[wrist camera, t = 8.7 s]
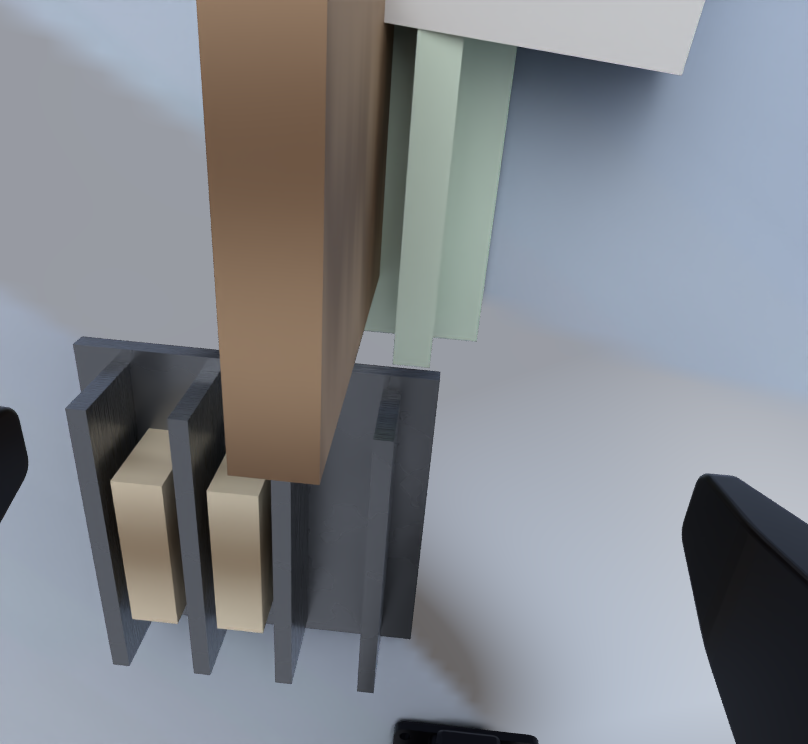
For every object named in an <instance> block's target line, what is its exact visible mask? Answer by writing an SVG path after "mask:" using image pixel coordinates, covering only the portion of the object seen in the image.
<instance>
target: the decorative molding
mask: <svg viewBox="0 0 808 744" xmlns="http://www.w3.org/2000/svg"><path fill="white" fill-rule="evenodd" d="M704 3H705V0H385V16H384V22H385V23H390V24H396V25H401V26H407V27H413V28H418V29H424V30H429V31H435V32H441V33H446V34H452V35H457V36H463V37H469V38H474V39H480V40H485V41H491V42H497V43H502V44H508V45H513V46H519V47H525V48H530V49H536V50H541V51H547V52H553V53H558V54H564V55H569V56H575V57H581V58H586V59H592V60H597V61H603V62H609V63H614V64H620V65H625V66H631V67H637V68H642V69H648V70H653V71H659V72H665V73H670V74H676V75H681V76H682V73H683V70H684V66H685V63H686V60H687V57H688V54H689V50H690V47H691V44H692V41H693V38H694V35H695V31H696V28H697V25H698V22H699V19H700V16H701V12H702V9H703V6H704Z"/></svg>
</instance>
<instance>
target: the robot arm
mask: <svg viewBox="0 0 808 744" xmlns="http://www.w3.org/2000/svg"><path fill="white" fill-rule="evenodd" d="M27 470H28V456H27V451H26V447H25V442H24V438H23V434H22V429H21V425H20V420H19V417H18V415H17V413H16V412H15V411H14V410H13V409H11V408H9V407H1V406H0V522H1V520H2V519H3V517H4V515H5V513H6V511H7V510H8V508H9V506H10V504H11V502H12V501H13V499H14V497H15V495H16V493H17V491H18V490H19V488H20V486H21V484H22V482H23V481H24V479H25V476H26V473H27ZM682 542H683V547H684V552H685V557H686V562H687V567H688V571H689V576H690V581H691V586H692V590H693V596H694V601H695V605H696V610H697V615H698V620H699V625H700V630H701V634H702V638H703V642H704V647H705V650H706V653H707V656H708V660H709V663H710V667H711V669H712V673H713V676H714V679H715V682H716V685H717V688H718V691H719V694H720V697H721V700H722V703H723V706H724V709H725V712H726V715H727V718H728V721H729V724H730V727H731V730H732V733H733V736H734V739H735V742H736V744H808V524H807V523H805V522H804V521H802V520H801V519H799V518H798V517H796V516H795V515H793V514H792V513H790V512H789V511H787V510H786V509H784V508H783V507H781V506H779V505H778V504H777V503H775V502H774V501H772V500H771V499H769V498H767V497H766V496H765V495H763V494H762V493H760V492H758V491H757V490H755V489H754V488H752V487H751V486H749V485H748V484H746V483H745V482H743V481H742V480H740V479H739V478H737V477H734V476H730V475H718V474H704V475H702V476H700V477H699V479H698V480H697V482H696V485H695V488H694V491H693V494H692V497H691V500H690V503H689V506H688V509H687V512H686V516H685V519H684V522H683V527H682ZM393 744H538V740H537V738H536V737H534V736H531V735H526V734H516V733H508V732H499V731H490V730H481V729H472V728H463V727H454V726H445V725H436V724H427V723H418V722H409V721H401V722H398V723H397V724H396V725H395V728H394V738H393Z"/></svg>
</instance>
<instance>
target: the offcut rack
mask: <svg viewBox="0 0 808 744" xmlns="http://www.w3.org/2000/svg"><path fill="white" fill-rule="evenodd" d="M73 347H74V353H75V359H76V364H77V370H78V376H79V382H80V388H81V393H80V394H79V395H78V396H77V397H76V398H75V399H74V400H73V401H72V402H71V403H70V404H69V405H68V406H67V407H66V408H65V410H66V415H67V421H68V426H69V431H70V437H71V442H72V447H73V452H74V458H75V463H76V468H77V474H78V479H79V484H80V490H81V495H82V500H83V506H84V511H85V516H86V522H87V527H88V532H89V538H90V543H91V548H92V554H93V559H94V564H95V570H96V575H97V580H98V586H99V591H100V596H101V601H102V607H103V612H104V617H105V623H106V628H107V633H108V639H109V644H110V649H111V655H112V660H113V664H115V665H124V666H130V664H131V662H132V660H133V658H134V656H135V654H136V652H137V650H138V648H139V646H140V644H141V642H142V640H143V638H144V636H145V634H146V632H147V630H148V628H149V626H150V624H151V622H152V621H146V620H137V619H132V613H131V607H130V601H129V595H128V589H127V582H126V576H125V570H124V564H123V557H122V551H121V545H120V539H119V533H118V526H117V520H116V514H115V508H114V502H113V495H112V489H111V483H110V481H111V479H112V478H113V477H114V475H115V474H116V473H117V471H118V470H119V468H120V467H121V466H122V464H123V463H124V462H125V460H126V459H127V457H128V456H129V455H130V453H131V452H132V451H133V449H134V448H135V447H136V445H137V444H138V442H139V441H140V440H141V438H142V437H143V436H144V434H145V433H146V432H147V430H148V429H149V428H151V429H161V430H168V433H169V442H170V451H171V461H172V470H173V480H174V489H175V498H176V508H177V517H178V527H179V536H180V546H181V555H182V564H183V574H184V583H185V593H186V602H187V604H186V607H185V609H184V611H183V613H182V614H184V615H188V621H189V630H190V640H191V649H192V658H193V668H194V673H196V674H205V675H210V674H211V672H212V669H213V666H214V664H215V661H216V658H217V656H218V653H219V650H220V647H221V645H222V642H223V639H224V637H225V634H226V631H227V629H219V628H217V618H216V605H215V592H214V579H213V567H212V554H211V541H210V529H209V516H208V503H207V489H208V487H209V485H210V484H211V482H212V480H213V478H214V476H215V474H216V472H217V470H218V468H219V466H220V464H221V462H222V460H223V458H224V456H225V455H226V444H225V429H224V414H223V399H222V383H221V368H220V353H219V350H214V349H204V348H193V347H183V346H173V345H162V344H152V343H142V342H132V341H122V340H111V339H102V338H92V337H81V338H80V339H79V340H77V341H76V342H75V343H74V344H73ZM439 382H440V372H437V371H427V370H417V369H406V368H396V367H385V366H377V365H366V364H356V363H354V367H353V370H352V374H351V377H350V381H349V384H348V388H347V391H346V395H345V398H344V401H343V405H342V408H341V412H340V415H339V419H338V422H337V426H336V429H335V433H334V436H333V440H332V443H331V447H330V450H329V454H328V457H327V461H326V464H325V468H324V471H323V475H322V478H321V482H320V485H314V484H304V483H295V482H285V481H276V480H271V512H272V556H273V602H272V605H271V609H270V612H269V615H268V618H267V622H266V623H267V624H274V645H275V682H278V683H287V684H292V681H293V677H294V672H295V668H296V664H297V660H298V656H299V652H300V648H301V644H302V640H303V636H304V632H305V628H313V629H322V630H331V631H340V632H350V633H359V634H361V638H360V654H359V670H358V685H357V691H359V692H368V693H374V685H375V677H376V669H377V661H378V653H379V645H380V637H381V636H386V637H396V638H405V639H410V638H411V630H412V621H413V612H414V603H415V594H416V585H417V577H418V568H419V567H418V566H419V559H420V549H421V541H422V532H423V523H424V515H425V505H426V496H427V488H428V479H429V470H430V462H431V453H432V444H433V435H434V426H435V417H436V408H437V400H438V391H439Z"/></svg>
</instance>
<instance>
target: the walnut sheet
mask: <svg viewBox="0 0 808 744" xmlns="http://www.w3.org/2000/svg"><path fill="white" fill-rule="evenodd" d="M196 4H197V19H198V34H199V49H200V64H201V80H202V95H203V110H204V125H205V140H206V156H207V170H208V184H209V185H208V186H209V201H210V214H211V215H210V216H211V231H212V245H213V246H212V247H213V262H214V277H215V292H216V307H217V321H218V322H217V323H218V338H219V353H220V368H221V383H222V399H223V414H224V429H225V444H226V459H227V475H228V476H237V477H247V478H256V479H266V480H276V481H285V482H295V483H304V484H314V485H320V482H321V478H322V475H323V471H324V468H325V464H326V461H327V457H328V454H329V450H330V447H331V443H332V440H333V436H334V433H335V429H336V426H337V422H338V419H339V415H340V412H341V408H342V405H343V401H344V398H345V395H346V391H347V388H348V384H349V381H350V377H351V374H352V370H353V367H354V363H355V360H356V356H357V353H358V349H359V346H360V342H361V339H362V335H363V332H364V328H365V325H366V321H367V318H368V314H369V311H370V307H371V304H372V300H373V297H374V294H375V290H376V287H377V283H378V280H379V276H380V261H381V244H382V227H383V210H384V193H385V176H386V159H387V142H388V125H389V108H390V91H391V74H392V58H393V41H394V24H390V23H385V22H384V16H385V0H196Z"/></svg>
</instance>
